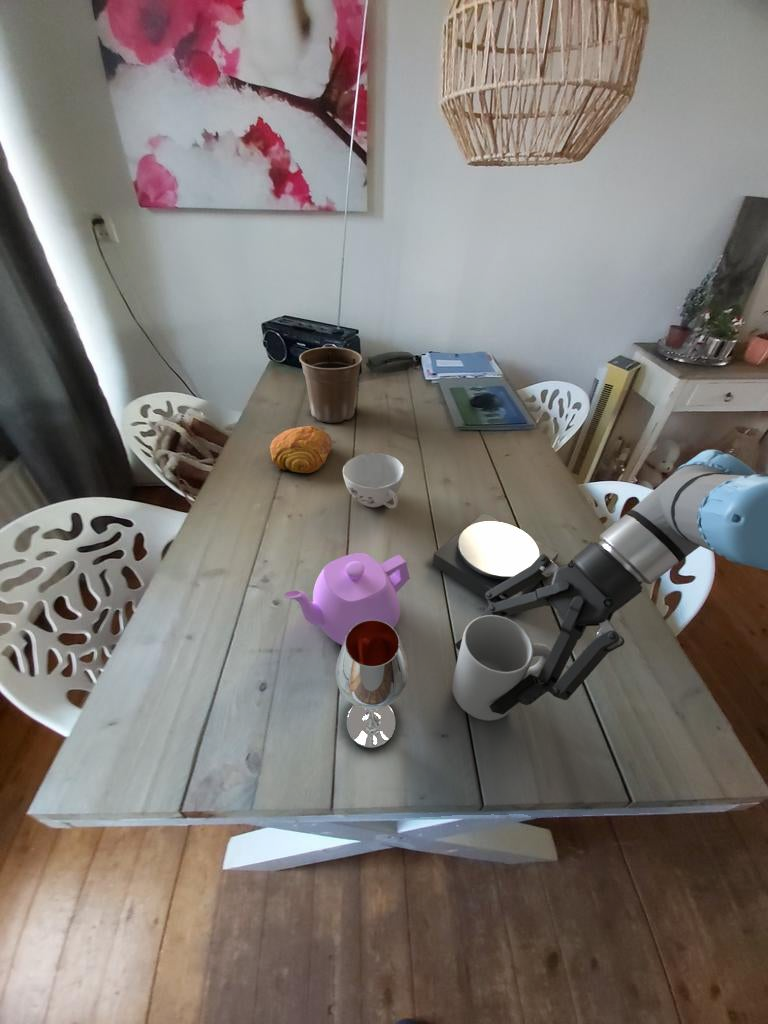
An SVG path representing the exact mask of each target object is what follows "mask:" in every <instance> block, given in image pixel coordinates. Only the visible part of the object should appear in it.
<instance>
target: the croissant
mask: <svg viewBox="0 0 768 1024" xmlns="http://www.w3.org/2000/svg"><path fill="white" fill-rule="evenodd" d="M331 438H332V437H331V436H330V434H329V433H328V432H326V431H324V430H323V429H320V428H318V427H316V426H313V425H305V426H299V427H293V428H290V429H287V430H284V431H282V432H281V433H279V434H278V435H277V436H275V437H274V438H273V439H272V440H271V442H270V446H269V450H270V452H269V453H270V455H271V456H270V457H271V461H272V463H274V465H275V466H276V467H277V468H278V469H282V470H283V471H288V470H289V471H291V472H294V473H301V474H310V473H314V472H316V471H318V470H319V469H320V468H321V467H322V466H323V465H324V464H325V463H326V460H327V458H328V456H329V453H330V452H331V450H332V439H331Z"/></svg>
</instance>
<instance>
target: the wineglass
mask: <svg viewBox="0 0 768 1024" xmlns="http://www.w3.org/2000/svg"><path fill="white" fill-rule="evenodd" d="M334 672H335V682H336V684H337V687H338V690H339V691H340V693H341V695H342V696H343V697H344V698H345V700H346V701H347V702H349V703H350V704H352V707H351V709H350V710H349V711H348V714H347V717H346V729H347V732H348V734H349V737H350V738H351V740H353V741H354V742H355V743H356V744H357V745H359V746H360V747H363V748H369V749H373V748H375V749H376V748H378V747H381V746H383V745H385V744H386V743H388V742H389V741H390V739H391V738H392V737H393V735H394V732H395V729H396V725H397V724H396V723H397V722H396V716H395V713H394V711H393V709H392V708H391V707H390V705H392V704H393V703H395V702H396V701H397V700H398V699H399V698H400V697H401V695H402V694H403V692H404V690H405V688H406V686H407V683H408V679H409V664H408V659H407V656H406V653H405V650H404V647H403V645H402V641H401V639H400V637H399V635H398V633H397V631H396V630H395V628H392V627H391V626H390V625H389V624H387V623H385V622H382V621H378V620H366V621H363V622H360V623H358V624H356V625H355V626H354V627H352V628H351V629H350V631H349V632H348V634H347V636H346V638H345V641H344V643H343V645H341V648H340V651H339V653H338V656H337V659H336V663H335V671H334Z"/></svg>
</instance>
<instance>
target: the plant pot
mask: <svg viewBox="0 0 768 1024" xmlns="http://www.w3.org/2000/svg"><path fill="white" fill-rule="evenodd" d="M298 358H299V363H301V366H302V372H303V375H304V377H305V383H306V388H307V395H308V401H309V408H310V414H311V416H312V417H313V418H315V419H316V420H317V421H319V422H323V423H327V424H328V423H330V424H334V423H335V424H337V423H342V422H344V421H345V420H347V421H348V420H350V419H352V418H353V416H354V415H355V410H356V409H355V407H356V396H357V386H358V378H359V377H358V376H359V374H360V369H361V363H362V362H363V356H362V354H361V353H359V352H358V351H356V350H353V349H350V348H345V347H337V346H323V347H322V346H321V347H316V348H311V349H308V350H306V351H304V352H302V353H301V354H300V355H299V357H298Z"/></svg>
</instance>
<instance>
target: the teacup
mask: <svg viewBox="0 0 768 1024" xmlns="http://www.w3.org/2000/svg"><path fill="white" fill-rule="evenodd" d="M404 475H405V467H404V465H403V464H402V463H401V461H400V460H399V459H398V458H396V457H394V456H391V455H389V454H383V453H379V452H373V453H372V452H365V453H361V454H359V455H356V456H354V457H351V458H350V459H349V460H347V461H346V463H345V464H344V465H343V467H342V476H343V480H344V483H345V486H346V488H347V490H348V492H349V494H350V495H351V496H352V498H354V499H355V500H356V501H357V502H359V503H360V504H361V505H364V506H365V507H370V508H379V507H382V506H385V507H387V508H389V509H395V508H397V506H398V496H397V494H398V492H399V491H400V488H401V486H402V484H403V480H404ZM391 500H393V504H392V503H389V502H390V501H391Z"/></svg>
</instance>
